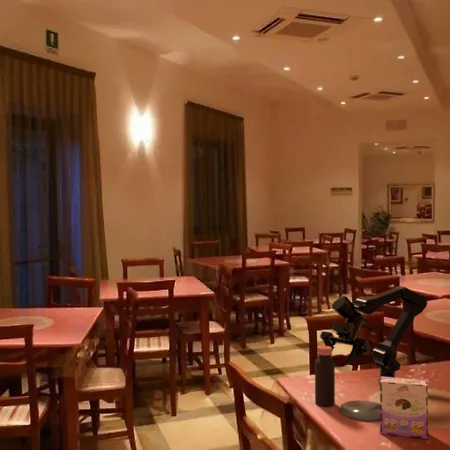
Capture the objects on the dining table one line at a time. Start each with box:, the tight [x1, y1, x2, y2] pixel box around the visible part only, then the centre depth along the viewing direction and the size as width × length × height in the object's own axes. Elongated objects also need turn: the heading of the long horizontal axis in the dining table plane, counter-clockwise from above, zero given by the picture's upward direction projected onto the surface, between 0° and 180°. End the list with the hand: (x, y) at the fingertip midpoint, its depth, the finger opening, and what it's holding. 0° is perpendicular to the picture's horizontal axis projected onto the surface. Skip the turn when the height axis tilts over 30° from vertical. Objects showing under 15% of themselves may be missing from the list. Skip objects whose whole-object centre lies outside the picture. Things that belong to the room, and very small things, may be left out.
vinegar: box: [314, 345, 336, 407], centre depth 189 cm, size 7×7×20 cm
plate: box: [339, 399, 380, 422], centre depth 181 cm, size 16×16×1 cm
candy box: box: [379, 376, 429, 440], centre depth 164 cm, size 14×6×16 cm, turn 71°
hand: (336, 361), depth 194 cm, fingers open, 9 cm apart
